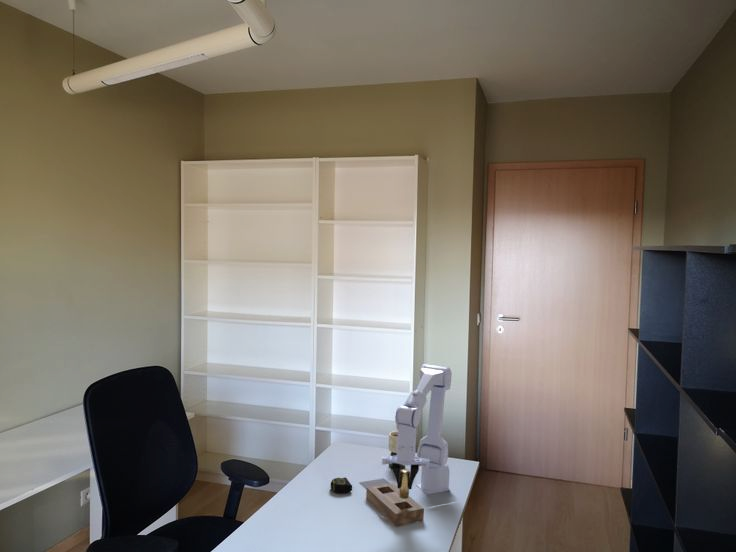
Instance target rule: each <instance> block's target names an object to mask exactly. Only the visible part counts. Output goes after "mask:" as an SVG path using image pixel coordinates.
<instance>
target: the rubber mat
mask: <svg viewBox="0 0 736 552" xmlns="http://www.w3.org/2000/svg"><path fill="white" fill-rule="evenodd" d="M358 484H360V485H361V486H362V487H363V488H364V489H365V490H366V491H367V487H372V486H378V485H384V484H390V482H389V481H388V480H387V479H385V478H384V477H383V478H378V479H377V478H376V479H372V480H366V481H360V482H358Z"/></svg>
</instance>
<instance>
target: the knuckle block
mask: <svg viewBox="0 0 736 552" xmlns="http://www.w3.org/2000/svg"><path fill="white" fill-rule="evenodd" d="M389 483H390V482H389ZM399 490H400V488H397V484H395V483H394V482H391V483H390V484H384V485H378V486H372V487H367V490H366V497H365V498H366V500H368V501H369V503H371V505H373V507H375V508H376V509H377V510H378V511H379V512H381V514H382V515H383V517H384V518H385V519H386V520H388V522H390V524H392V525H393V526H394V527H395V528H396V527H401V526H406V525H411V524H415V523H420V522H424V519H425V518H424V513H425V508H424V507H423V506H422V505H420V503H418V502H417V501H416V500H415V499H413V498H412V497H411V496H409V498H407V499H402V498H400V497H399Z"/></svg>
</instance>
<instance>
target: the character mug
mask: <svg viewBox="0 0 736 552" xmlns="http://www.w3.org/2000/svg"><path fill="white" fill-rule="evenodd" d="M397 439H398V430H396V431H394V430H393V431H390V432H389V434H388V451H389V452H390V455H389V456H397ZM388 466H389V467H390V468H392V464H388ZM404 468H406V466H404V465H400V470H404Z"/></svg>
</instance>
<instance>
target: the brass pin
mask: <svg viewBox="0 0 736 552" xmlns="http://www.w3.org/2000/svg"><path fill="white" fill-rule="evenodd" d="M409 482H410V470H408V469H400V490H399V497H400V498H402V499H407V498H409V497H410V489H409Z"/></svg>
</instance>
